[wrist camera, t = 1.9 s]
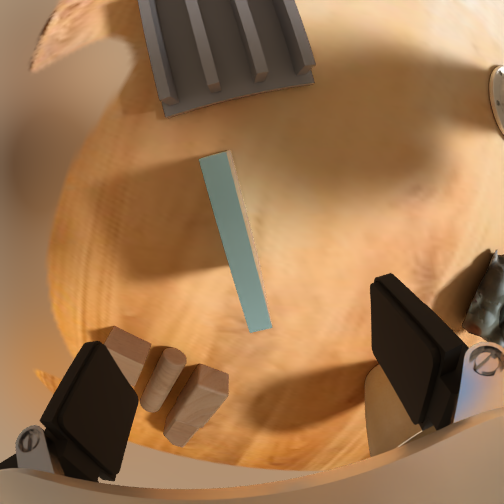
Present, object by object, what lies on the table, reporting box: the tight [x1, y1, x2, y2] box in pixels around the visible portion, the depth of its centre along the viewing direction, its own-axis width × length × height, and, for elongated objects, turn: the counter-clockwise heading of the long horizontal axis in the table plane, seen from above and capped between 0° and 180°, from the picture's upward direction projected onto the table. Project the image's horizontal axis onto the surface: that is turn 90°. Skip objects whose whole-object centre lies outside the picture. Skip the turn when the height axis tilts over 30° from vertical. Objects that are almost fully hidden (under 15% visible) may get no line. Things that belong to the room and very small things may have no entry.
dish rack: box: [138, 0, 316, 118], centre depth 21 cm, size 15×18×5 cm
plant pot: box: [365, 364, 436, 457], centre depth 33 cm, size 15×15×16 cm
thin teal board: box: [199, 150, 272, 333], centre depth 24 cm, size 2×12×13 cm, turn 14°
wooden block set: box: [104, 326, 229, 447], centre depth 36 cm, size 17×6×18 cm
